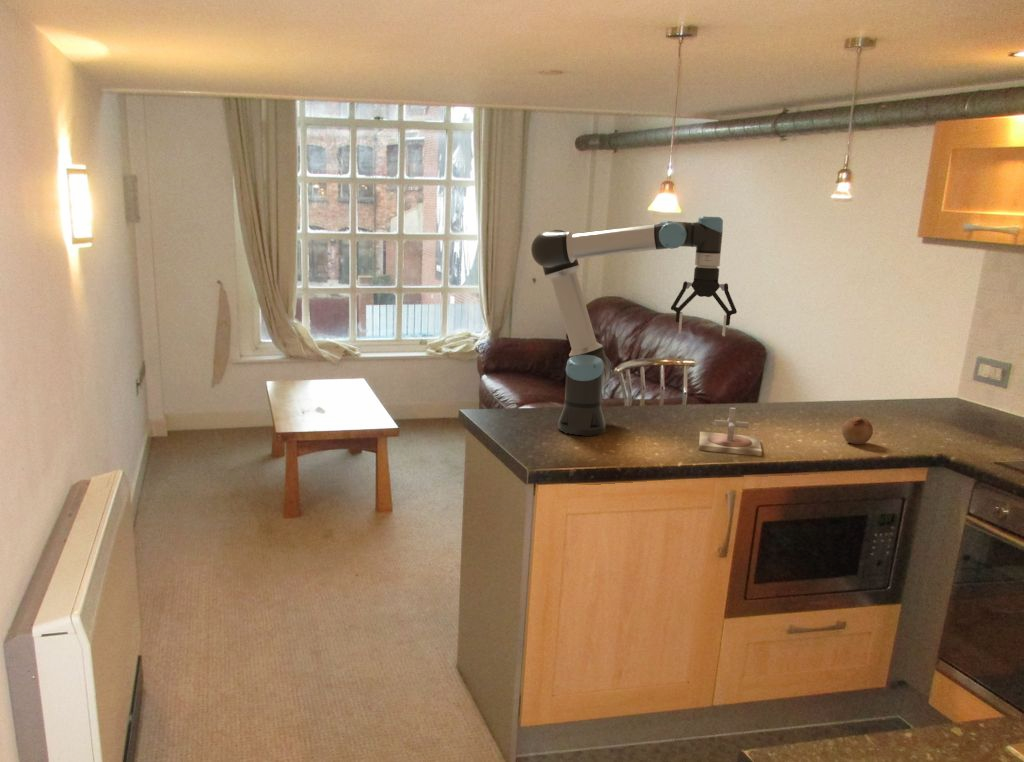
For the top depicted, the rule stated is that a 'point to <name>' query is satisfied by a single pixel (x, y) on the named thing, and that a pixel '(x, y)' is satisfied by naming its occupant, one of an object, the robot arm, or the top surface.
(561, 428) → the robot arm
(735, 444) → the board
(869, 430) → the onion
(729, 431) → the grey toy jack
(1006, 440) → the top surface
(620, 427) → the top surface
